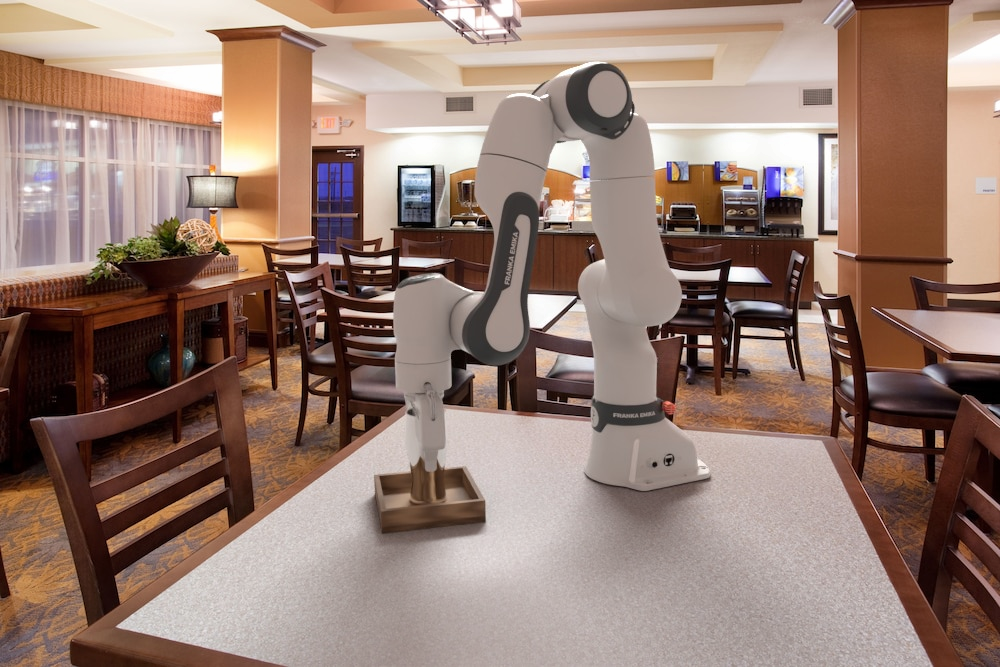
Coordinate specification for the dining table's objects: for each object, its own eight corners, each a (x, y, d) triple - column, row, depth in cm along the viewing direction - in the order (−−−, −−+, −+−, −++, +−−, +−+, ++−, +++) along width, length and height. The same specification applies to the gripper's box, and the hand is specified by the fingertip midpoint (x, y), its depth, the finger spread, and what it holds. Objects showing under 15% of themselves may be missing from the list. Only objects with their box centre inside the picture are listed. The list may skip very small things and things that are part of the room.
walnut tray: (466, 485, 128) (465, 466, 127) (485, 521, 112) (485, 500, 112) (374, 494, 124) (373, 474, 123) (381, 533, 109) (381, 511, 108)
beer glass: (443, 508, 115) (441, 418, 112) (401, 505, 116) (398, 416, 113) (453, 491, 122) (451, 405, 119) (414, 488, 123) (411, 404, 120)
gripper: (454, 390, 105) (456, 480, 108) (434, 363, 125) (436, 439, 127) (411, 393, 104) (414, 484, 106) (397, 365, 123) (400, 443, 126)
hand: (426, 460), depth 117 cm, fingers open, 8 cm apart
